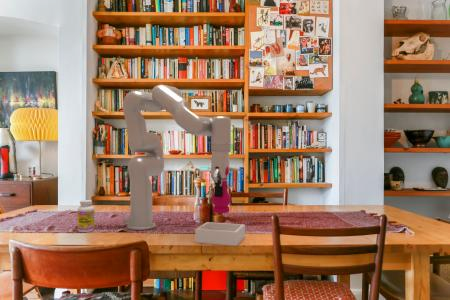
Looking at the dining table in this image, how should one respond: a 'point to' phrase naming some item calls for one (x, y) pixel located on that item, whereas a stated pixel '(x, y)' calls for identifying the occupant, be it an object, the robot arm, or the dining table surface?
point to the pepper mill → (224, 201)
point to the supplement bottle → (85, 216)
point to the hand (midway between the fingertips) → (221, 195)
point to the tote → (220, 233)
